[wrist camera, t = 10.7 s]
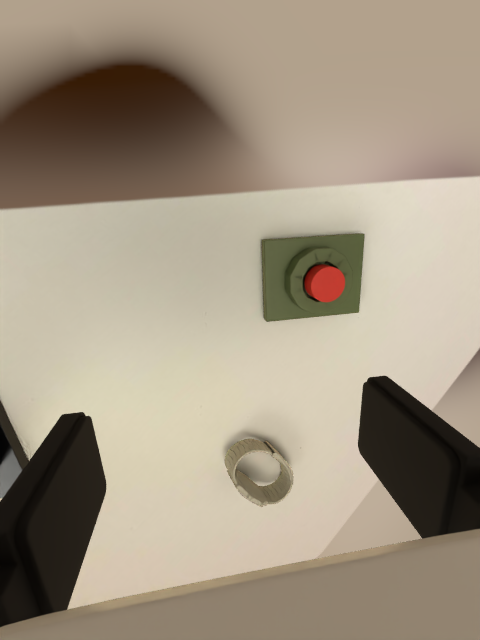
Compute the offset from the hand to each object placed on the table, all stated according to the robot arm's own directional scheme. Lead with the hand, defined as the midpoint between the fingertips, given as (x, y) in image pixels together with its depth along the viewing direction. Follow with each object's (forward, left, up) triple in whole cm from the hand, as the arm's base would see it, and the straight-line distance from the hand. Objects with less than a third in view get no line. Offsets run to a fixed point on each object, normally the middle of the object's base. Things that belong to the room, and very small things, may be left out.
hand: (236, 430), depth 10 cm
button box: (+7, +8, -21) cm, 23 cm away
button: (+7, +8, -18) cm, 21 cm away
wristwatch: (+18, -12, -21) cm, 30 cm away
